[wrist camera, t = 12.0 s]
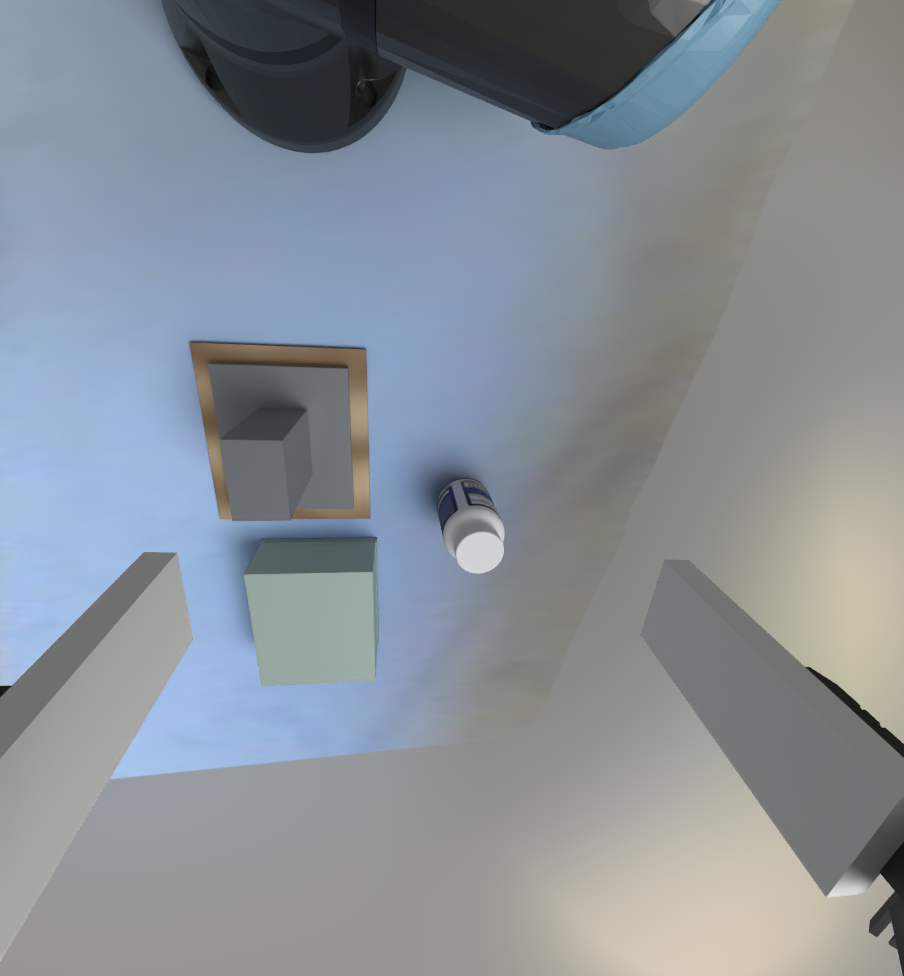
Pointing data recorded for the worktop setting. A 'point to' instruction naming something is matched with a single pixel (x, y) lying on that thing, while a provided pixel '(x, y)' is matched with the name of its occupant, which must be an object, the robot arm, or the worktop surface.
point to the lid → (283, 438)
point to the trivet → (289, 356)
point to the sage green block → (314, 610)
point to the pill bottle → (471, 525)
